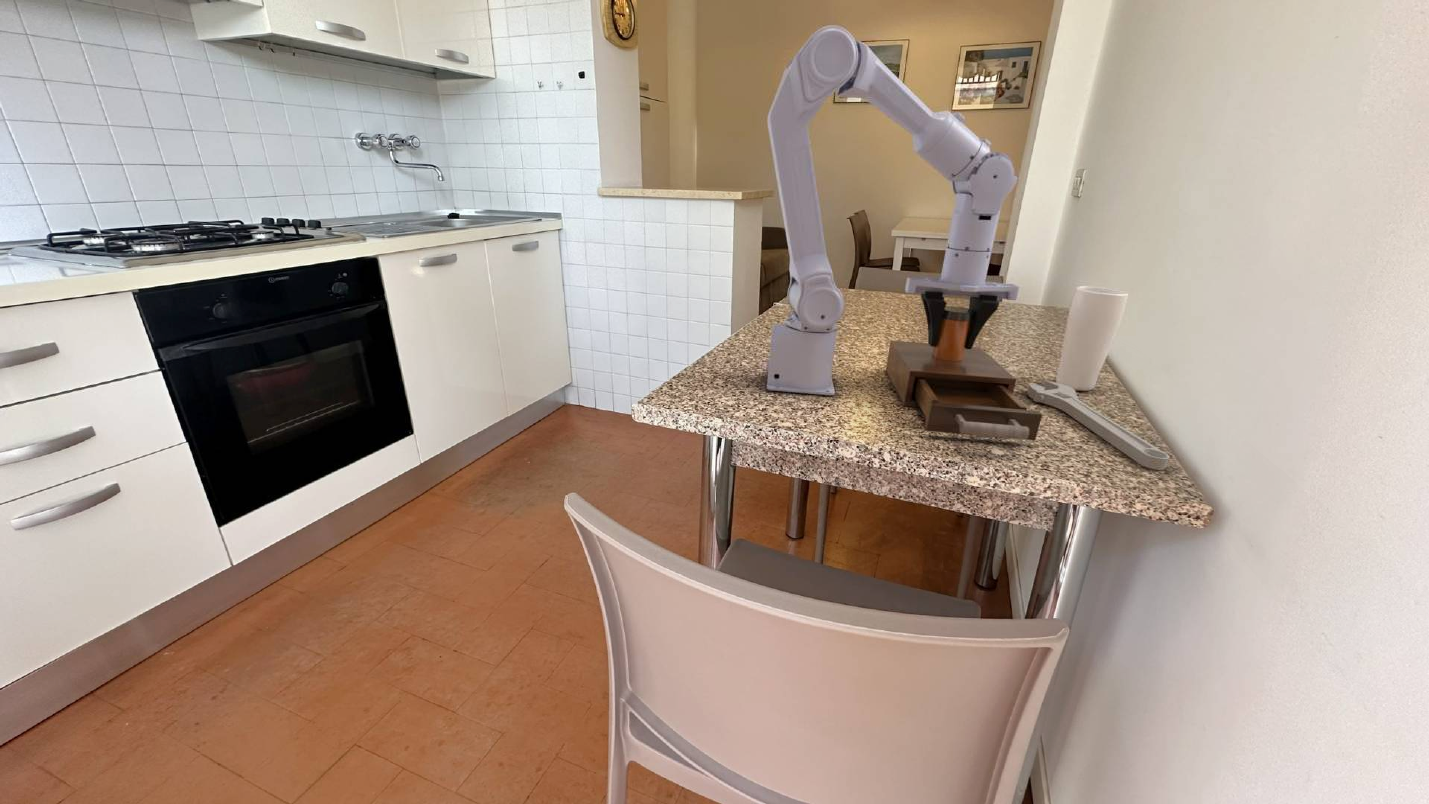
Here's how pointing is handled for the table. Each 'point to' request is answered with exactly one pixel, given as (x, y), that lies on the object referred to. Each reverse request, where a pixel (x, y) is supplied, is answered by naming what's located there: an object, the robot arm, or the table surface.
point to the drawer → (974, 409)
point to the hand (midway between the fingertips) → (949, 346)
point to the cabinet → (940, 368)
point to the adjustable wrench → (1098, 424)
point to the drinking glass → (1089, 335)
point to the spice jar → (953, 333)
